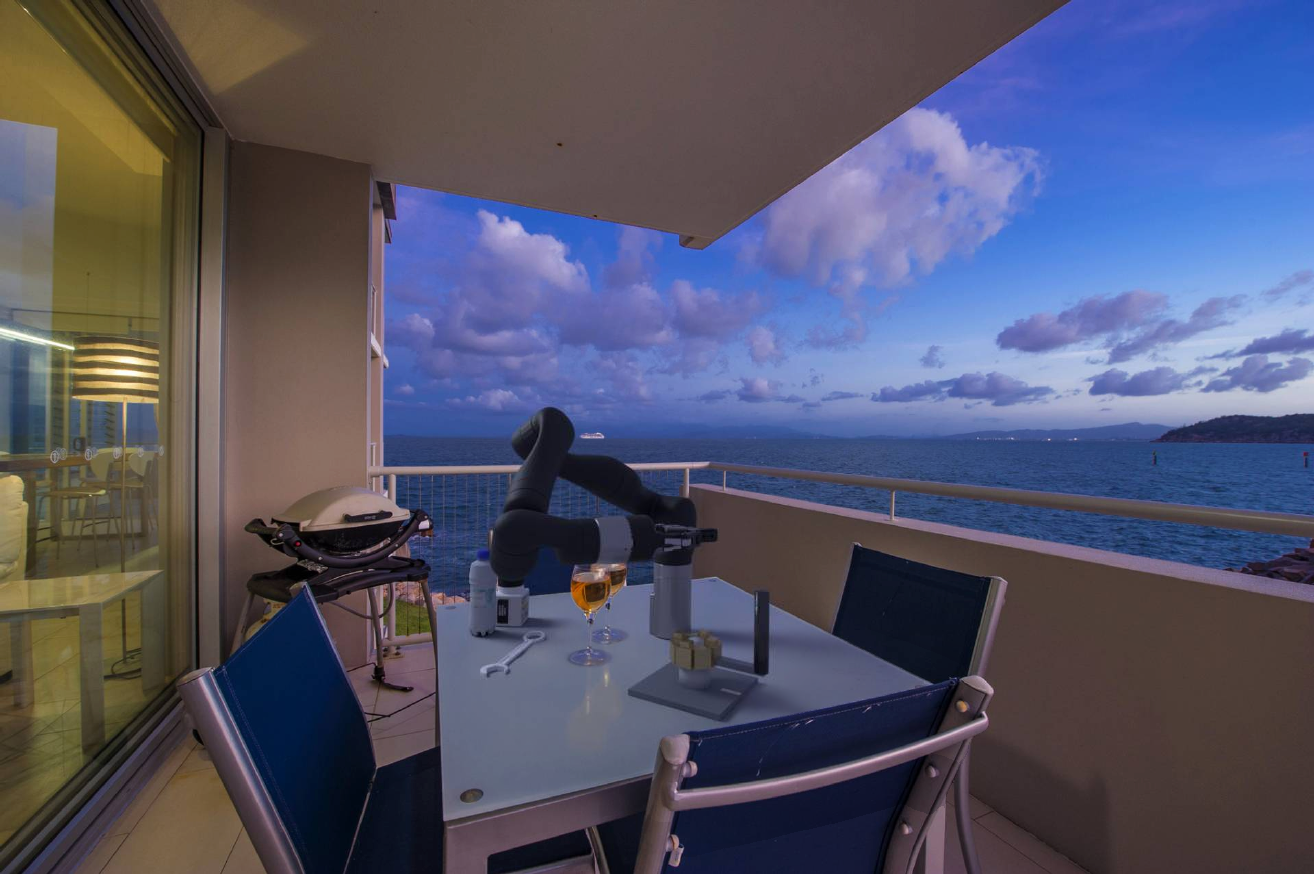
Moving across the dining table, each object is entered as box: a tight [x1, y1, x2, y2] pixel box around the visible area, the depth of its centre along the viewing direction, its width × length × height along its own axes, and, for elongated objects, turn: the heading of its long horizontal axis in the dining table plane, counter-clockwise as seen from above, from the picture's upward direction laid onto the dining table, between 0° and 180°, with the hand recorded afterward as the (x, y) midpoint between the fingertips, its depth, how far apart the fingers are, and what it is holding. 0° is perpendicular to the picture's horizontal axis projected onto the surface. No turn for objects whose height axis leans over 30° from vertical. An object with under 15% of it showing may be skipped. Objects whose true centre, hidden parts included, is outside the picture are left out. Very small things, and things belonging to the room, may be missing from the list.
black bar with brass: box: [669, 588, 771, 678], centre depth 101 cm, size 19×9×15 cm, turn 57°
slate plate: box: [627, 637, 759, 722], centre depth 103 cm, size 18×18×9 cm
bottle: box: [468, 548, 498, 637], centre depth 133 cm, size 7×7×20 cm
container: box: [496, 577, 530, 627], centre depth 142 cm, size 8×8×13 cm
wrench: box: [479, 630, 546, 678], centre depth 119 cm, size 25×5×2 cm, turn 170°
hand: (715, 534), depth 95 cm, fingers closed
